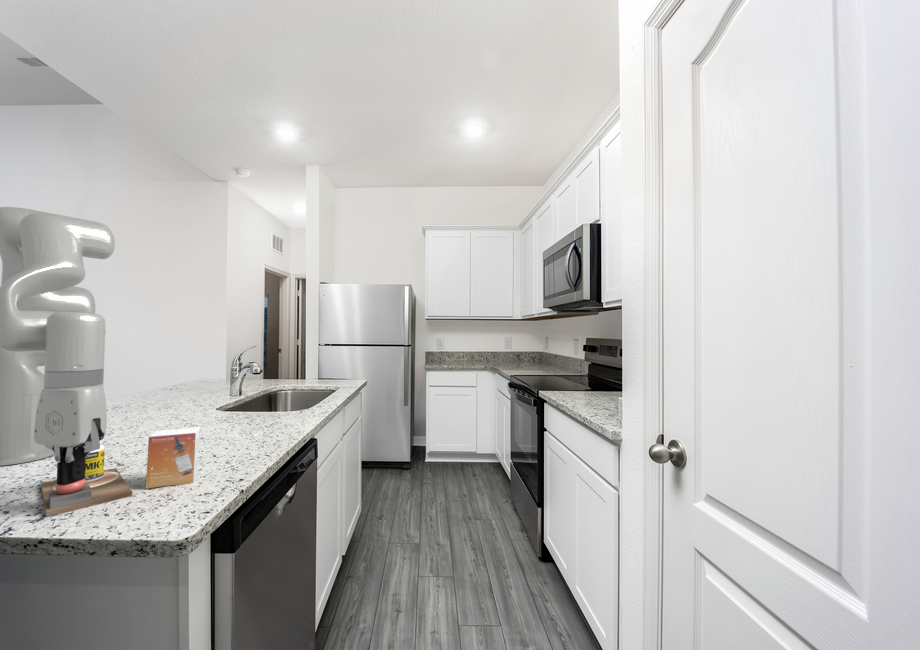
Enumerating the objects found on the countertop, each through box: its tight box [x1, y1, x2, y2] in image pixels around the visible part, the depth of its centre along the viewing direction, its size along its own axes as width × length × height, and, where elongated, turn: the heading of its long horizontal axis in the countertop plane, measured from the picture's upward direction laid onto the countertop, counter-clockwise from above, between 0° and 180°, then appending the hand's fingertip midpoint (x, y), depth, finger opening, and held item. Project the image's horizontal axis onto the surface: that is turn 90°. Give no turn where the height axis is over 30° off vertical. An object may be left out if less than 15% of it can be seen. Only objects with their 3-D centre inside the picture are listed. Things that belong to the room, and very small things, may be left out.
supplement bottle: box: [84, 438, 106, 483], centre depth 75 cm, size 5×5×8 cm
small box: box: [145, 426, 201, 489], centre depth 78 cm, size 8×6×10 cm
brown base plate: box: [40, 467, 133, 518], centre depth 73 cm, size 18×11×2 cm, turn 50°
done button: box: [56, 479, 85, 494], centre depth 67 cm, size 4×4×1 cm
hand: (71, 481), depth 67 cm, fingers closed
